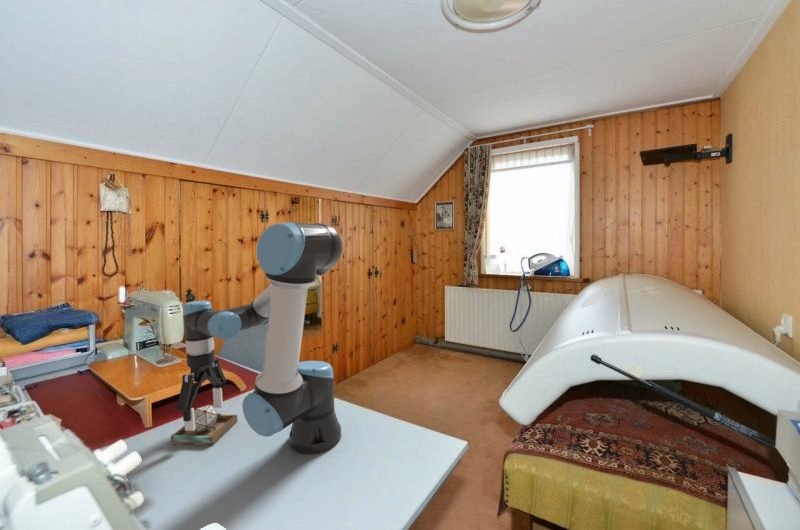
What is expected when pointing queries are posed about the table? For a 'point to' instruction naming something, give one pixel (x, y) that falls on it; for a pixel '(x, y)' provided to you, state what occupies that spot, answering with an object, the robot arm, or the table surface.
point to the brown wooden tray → (205, 432)
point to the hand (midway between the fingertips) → (205, 417)
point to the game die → (205, 418)
